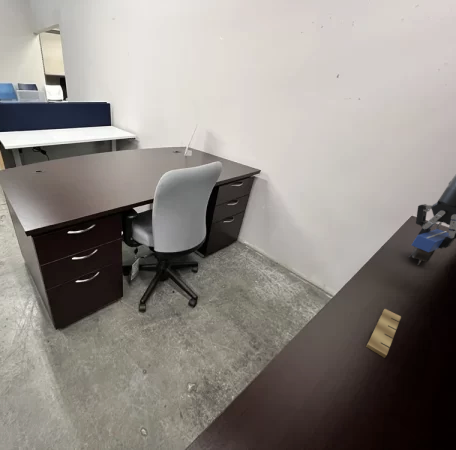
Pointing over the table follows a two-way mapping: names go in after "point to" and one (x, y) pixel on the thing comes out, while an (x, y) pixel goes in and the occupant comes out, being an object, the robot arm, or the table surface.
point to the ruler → (384, 333)
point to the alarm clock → (423, 252)
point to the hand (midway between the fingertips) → (430, 243)
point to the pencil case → (430, 240)
